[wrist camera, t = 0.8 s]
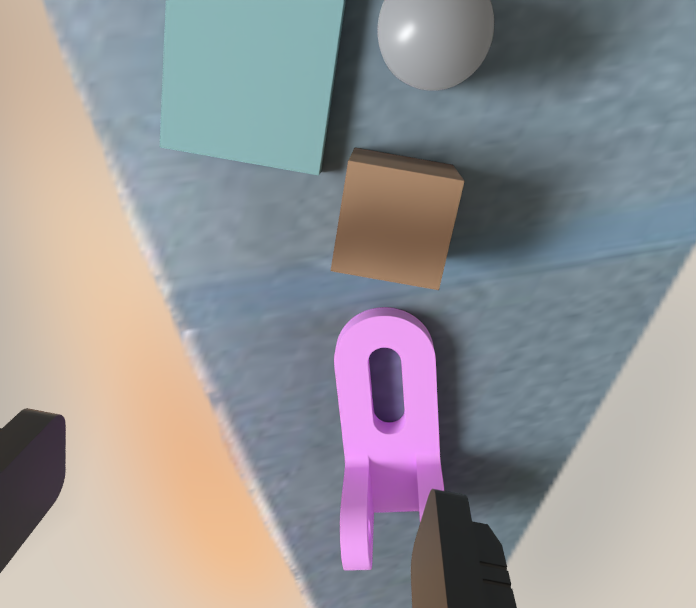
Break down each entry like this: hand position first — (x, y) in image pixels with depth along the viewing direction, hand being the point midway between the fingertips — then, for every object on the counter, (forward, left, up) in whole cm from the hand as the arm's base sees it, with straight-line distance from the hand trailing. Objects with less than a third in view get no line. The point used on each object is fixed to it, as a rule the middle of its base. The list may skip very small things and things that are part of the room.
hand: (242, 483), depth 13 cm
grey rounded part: (-10, +3, -20) cm, 23 cm away
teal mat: (-8, -5, -20) cm, 22 cm away
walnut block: (-2, +3, -20) cm, 20 cm away
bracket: (+10, +5, -20) cm, 23 cm away
